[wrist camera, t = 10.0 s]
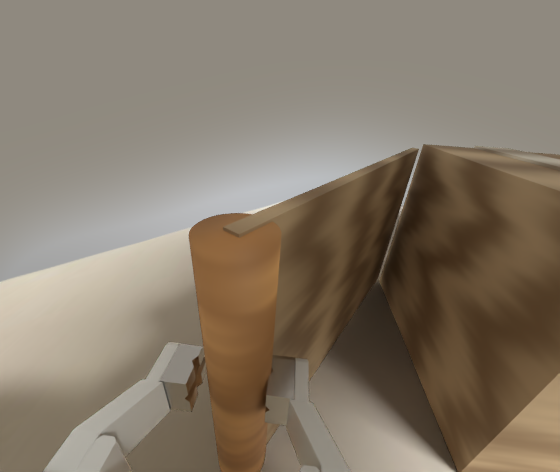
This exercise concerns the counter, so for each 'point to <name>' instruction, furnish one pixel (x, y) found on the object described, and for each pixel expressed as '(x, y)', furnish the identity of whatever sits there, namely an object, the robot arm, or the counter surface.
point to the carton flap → (286, 291)
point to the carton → (483, 302)
